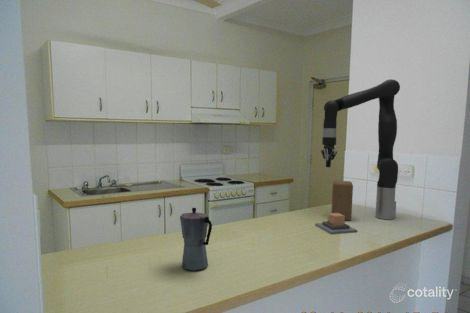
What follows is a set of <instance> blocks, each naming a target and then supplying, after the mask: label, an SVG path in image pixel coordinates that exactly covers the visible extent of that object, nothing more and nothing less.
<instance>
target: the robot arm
mask: <svg viewBox="0 0 470 313" xmlns="http://www.w3.org/2000/svg"><path fill="white" fill-rule="evenodd" d="M400 90H401V85H400V83H399V82H398V81H397V80H396V79H386V80H385V81H383V82H382V83H379V84H378V85H376V86H372V87H370V88H367V89H364V90H361V91H356V92H353V93H350V94H347V95H344V96H341V97H340V98H337V99H334V100H332V99H330V100H327V102H326V103H324V105H323V111H324V118H323V127H322V128H323V129H322V141H321V143H322V145H323V149H322V150H320V152H321V155H322V157H323V158H322V159H323V160H325V168H331V166H332V161H333V160H334V159H335V157H336V156H337V153H338V151H336V150H335V146H337V133H338V132H337V122H338V121H337V119H338V118H337V117H338V112H340V111H342V110H346V109H350V108H354V107H356V106H360V105H362V104H365V103H367V102H370V101H372V100H376V99H378V102H379V106H378V108H379V110H378V122H377V123H378V124H377V125H378V126H377V127H378V130H377V134H378V138H377V139H378V154H377V161H376V167H377V171H378V172H379V174H378V180H377V182H376V183H377V184H376V202H375V218H377V219H380V220H393V219H396V215H397V214H396V212H397V201H396V189H397V188H396V187H397V182H398V178H399V164H398V162H397V161H396V160H395V159H394V145H395V142H396V139H397V135H398V134H397V133H398V120H397V116H396V112H395V107H394V106H395V105H394V104H395V96H396V95H397V94H398V93H399V91H400Z"/></svg>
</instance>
